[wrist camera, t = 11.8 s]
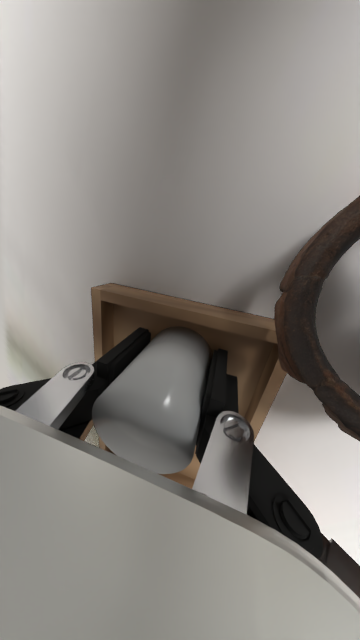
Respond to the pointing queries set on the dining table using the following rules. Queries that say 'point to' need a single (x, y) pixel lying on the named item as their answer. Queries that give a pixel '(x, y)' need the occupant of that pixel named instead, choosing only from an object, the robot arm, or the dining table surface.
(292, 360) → the brown piece
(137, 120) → the dining table surface
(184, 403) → the stone
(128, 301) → the tray
